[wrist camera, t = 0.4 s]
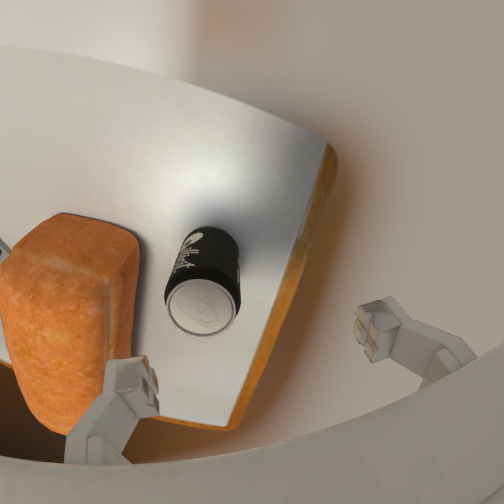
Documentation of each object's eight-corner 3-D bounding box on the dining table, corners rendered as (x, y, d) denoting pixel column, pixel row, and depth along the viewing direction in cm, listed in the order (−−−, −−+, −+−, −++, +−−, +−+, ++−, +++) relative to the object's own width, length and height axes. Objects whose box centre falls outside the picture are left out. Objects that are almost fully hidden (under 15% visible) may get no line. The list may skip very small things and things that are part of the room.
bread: (57, 359, 42) (19, 429, 27) (48, 206, 32) (-34, 260, 18) (132, 383, 44) (109, 465, 30) (148, 231, 34) (97, 307, 20)
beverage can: (219, 214, 34) (212, 261, 23) (249, 261, 37) (255, 322, 26) (170, 242, 35) (145, 298, 24) (202, 286, 38) (191, 352, 27)
